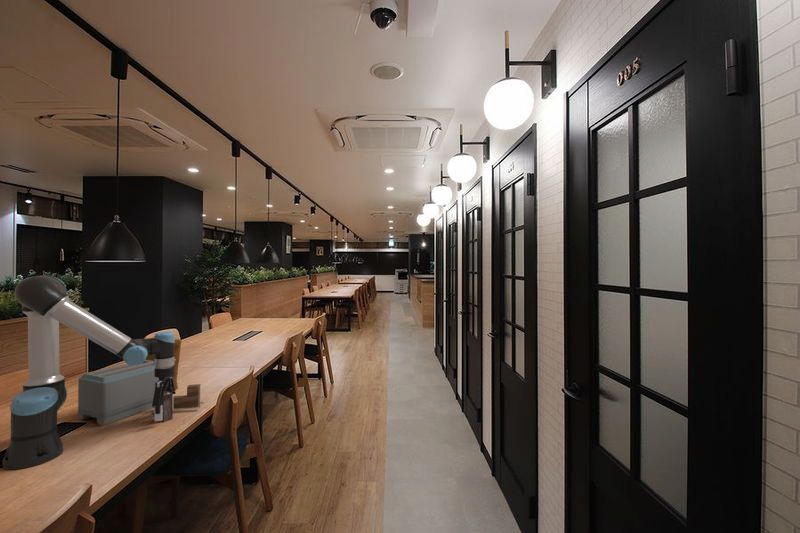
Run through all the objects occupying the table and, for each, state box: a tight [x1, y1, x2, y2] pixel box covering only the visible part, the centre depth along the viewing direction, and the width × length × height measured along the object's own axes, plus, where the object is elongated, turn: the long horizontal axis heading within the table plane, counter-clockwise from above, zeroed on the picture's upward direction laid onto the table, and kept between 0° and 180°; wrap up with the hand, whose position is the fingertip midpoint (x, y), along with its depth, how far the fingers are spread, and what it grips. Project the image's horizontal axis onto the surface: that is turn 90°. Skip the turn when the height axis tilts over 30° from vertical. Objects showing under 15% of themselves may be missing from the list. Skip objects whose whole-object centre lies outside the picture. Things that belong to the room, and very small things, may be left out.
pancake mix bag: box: [145, 338, 182, 390], centre depth 197 cm, size 7×19×28 cm, turn 122°
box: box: [161, 391, 174, 423], centre depth 162 cm, size 6×4×12 cm
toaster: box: [77, 360, 159, 427], centre depth 173 cm, size 19×33×20 cm, turn 158°
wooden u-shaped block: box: [151, 383, 204, 416], centre depth 174 cm, size 10×19×11 cm, turn 104°
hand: (164, 414), depth 162 cm, fingers open, 12 cm apart
